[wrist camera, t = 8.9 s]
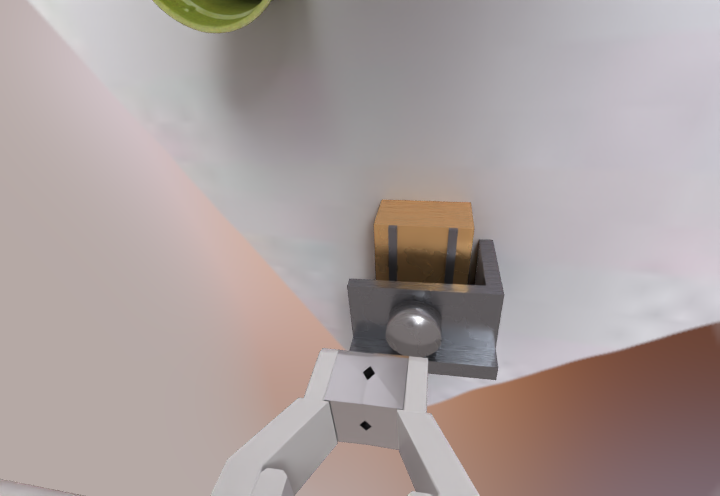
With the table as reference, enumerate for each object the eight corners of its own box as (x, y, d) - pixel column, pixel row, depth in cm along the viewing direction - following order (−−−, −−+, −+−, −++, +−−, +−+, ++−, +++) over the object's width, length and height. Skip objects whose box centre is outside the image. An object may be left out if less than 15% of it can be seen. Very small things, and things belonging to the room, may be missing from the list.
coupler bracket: (364, 236, 37) (341, 301, 29) (492, 240, 35) (507, 312, 27) (369, 293, 41) (350, 365, 33) (485, 300, 39) (495, 379, 31)
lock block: (382, 198, 35) (372, 226, 31) (470, 201, 34) (474, 231, 29) (383, 275, 40) (376, 309, 35) (461, 281, 38) (463, 317, 34)
